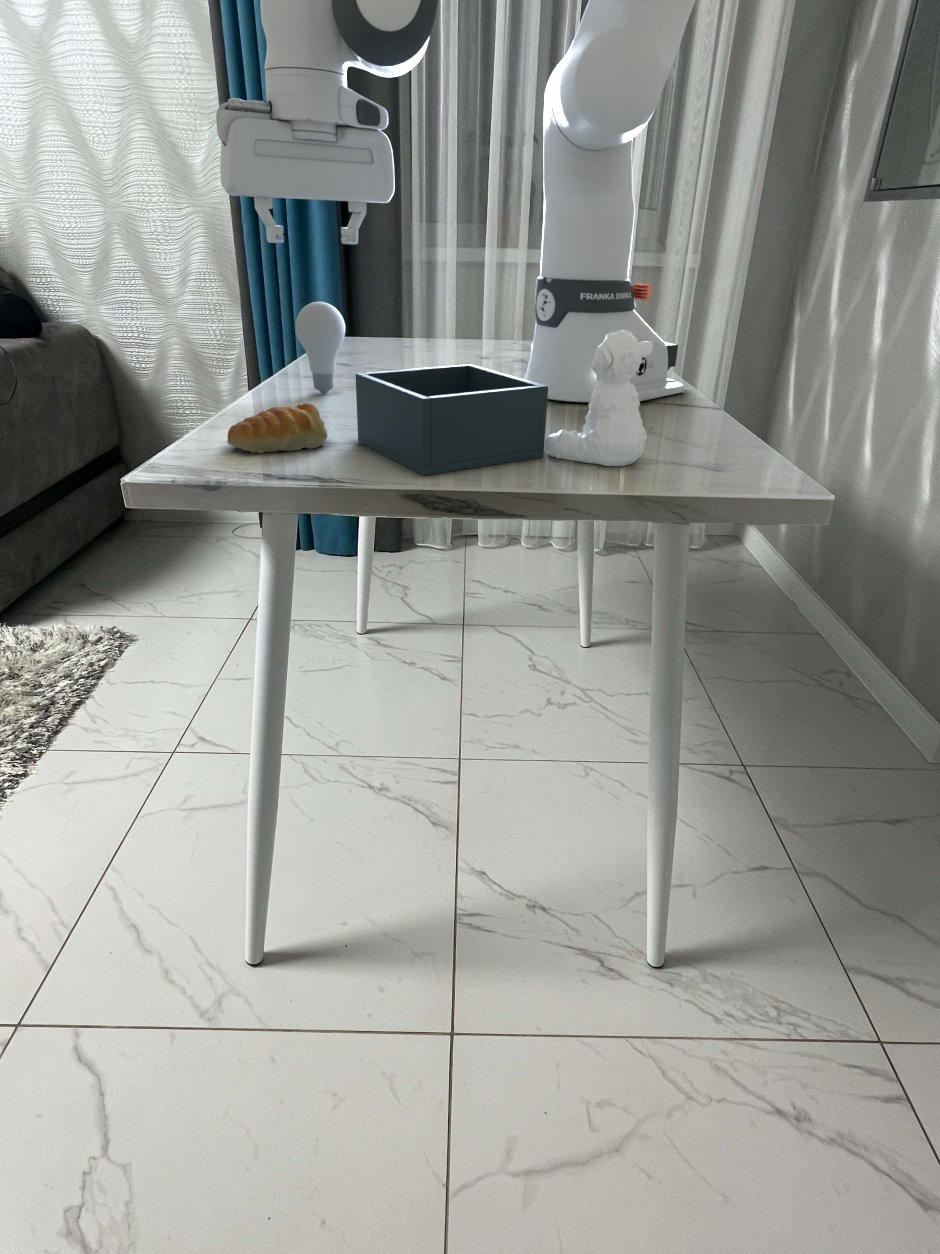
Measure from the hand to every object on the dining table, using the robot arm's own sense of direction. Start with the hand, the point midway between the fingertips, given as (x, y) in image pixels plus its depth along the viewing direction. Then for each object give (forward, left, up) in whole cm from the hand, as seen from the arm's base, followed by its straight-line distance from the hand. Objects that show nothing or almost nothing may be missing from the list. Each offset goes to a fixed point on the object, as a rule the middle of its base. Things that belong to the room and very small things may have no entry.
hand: (313, 243), depth 96 cm
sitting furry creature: (-12, +41, -18) cm, 46 cm away
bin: (0, +31, -18) cm, 36 cm away
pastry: (+14, +22, -18) cm, 31 cm away
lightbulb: (0, 0, -18) cm, 18 cm away
